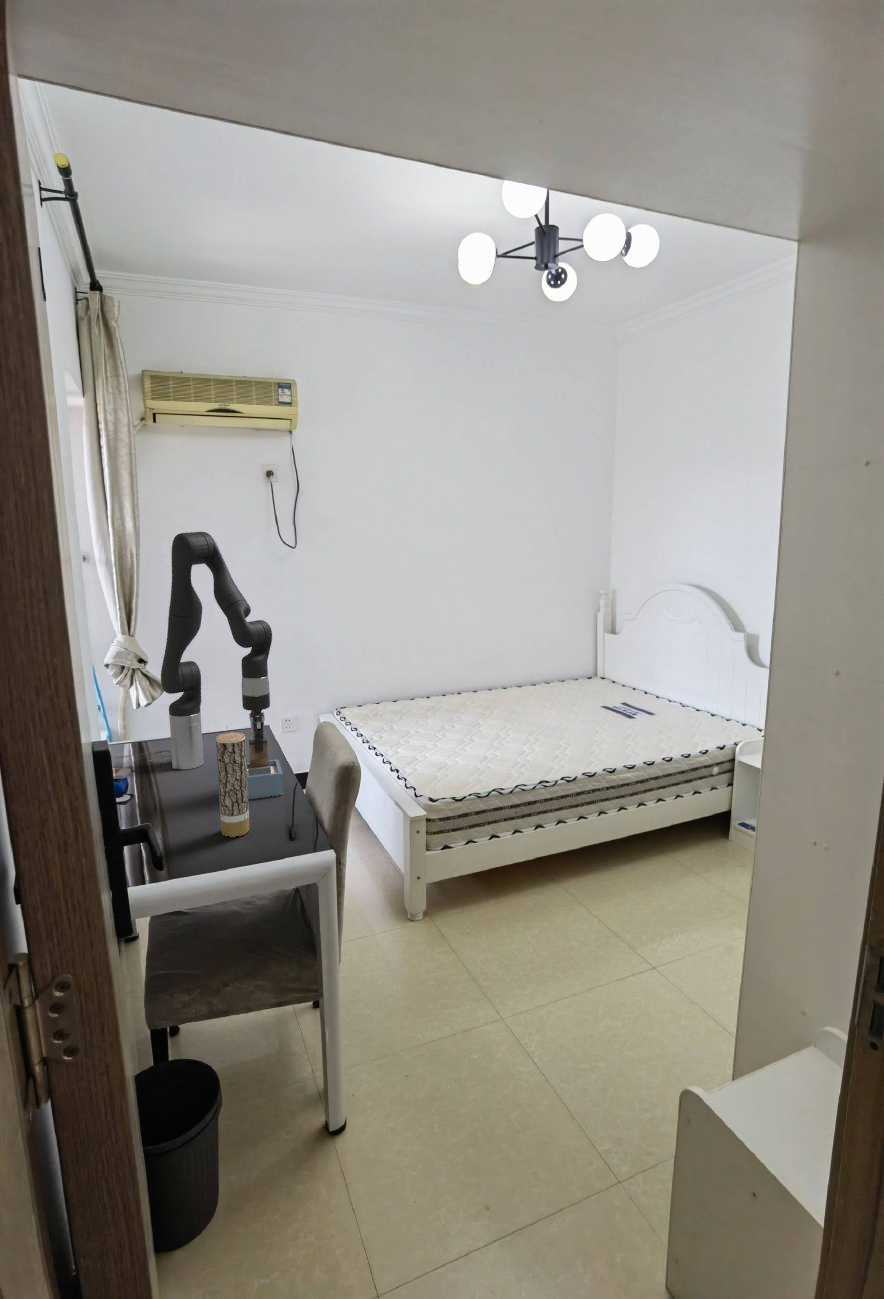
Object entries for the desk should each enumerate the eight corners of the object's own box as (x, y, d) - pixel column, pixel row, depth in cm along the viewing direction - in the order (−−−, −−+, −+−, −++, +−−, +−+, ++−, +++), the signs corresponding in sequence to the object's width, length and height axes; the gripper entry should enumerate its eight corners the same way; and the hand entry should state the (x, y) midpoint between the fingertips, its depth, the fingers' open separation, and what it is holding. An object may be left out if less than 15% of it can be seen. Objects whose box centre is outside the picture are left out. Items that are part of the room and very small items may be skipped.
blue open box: (239, 800, 190) (238, 775, 189) (237, 784, 201) (236, 760, 200) (283, 795, 194) (282, 770, 193) (279, 780, 205) (278, 756, 204)
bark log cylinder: (224, 840, 166) (218, 742, 162) (219, 829, 172) (213, 734, 168) (252, 835, 170) (247, 738, 165) (246, 824, 176) (241, 731, 171)
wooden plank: (250, 775, 195) (249, 742, 193) (250, 773, 197) (248, 740, 195) (268, 773, 197) (267, 740, 195) (268, 771, 198) (266, 738, 197)
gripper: (240, 686, 198) (243, 743, 201) (243, 698, 184) (246, 759, 188) (267, 684, 200) (269, 741, 203) (271, 696, 187) (274, 756, 190)
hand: (258, 749), depth 195 cm, fingers open, 3 cm apart
